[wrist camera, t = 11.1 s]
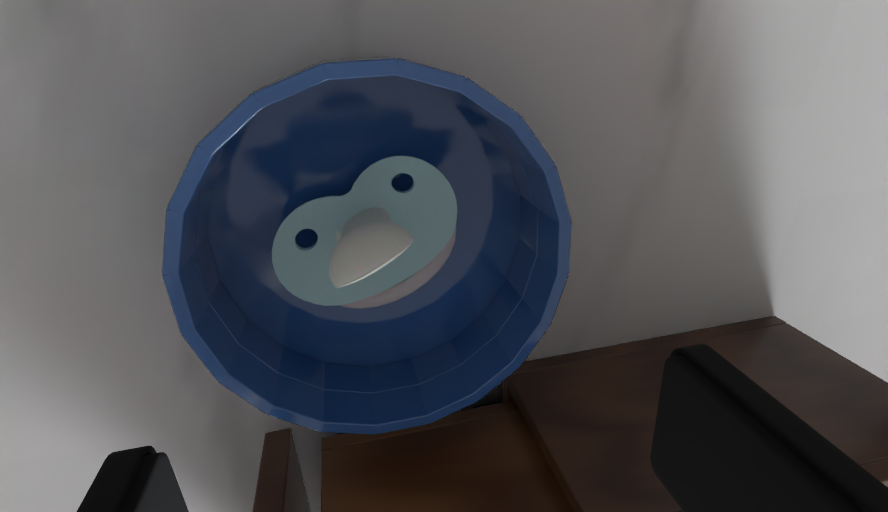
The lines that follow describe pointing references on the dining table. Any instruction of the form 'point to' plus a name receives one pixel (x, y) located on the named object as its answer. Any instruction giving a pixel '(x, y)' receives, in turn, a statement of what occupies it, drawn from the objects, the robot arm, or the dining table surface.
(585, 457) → the cabinet
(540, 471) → the drawer
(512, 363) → the bowl
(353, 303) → the pacifier
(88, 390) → the dining table surface
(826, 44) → the dining table surface
